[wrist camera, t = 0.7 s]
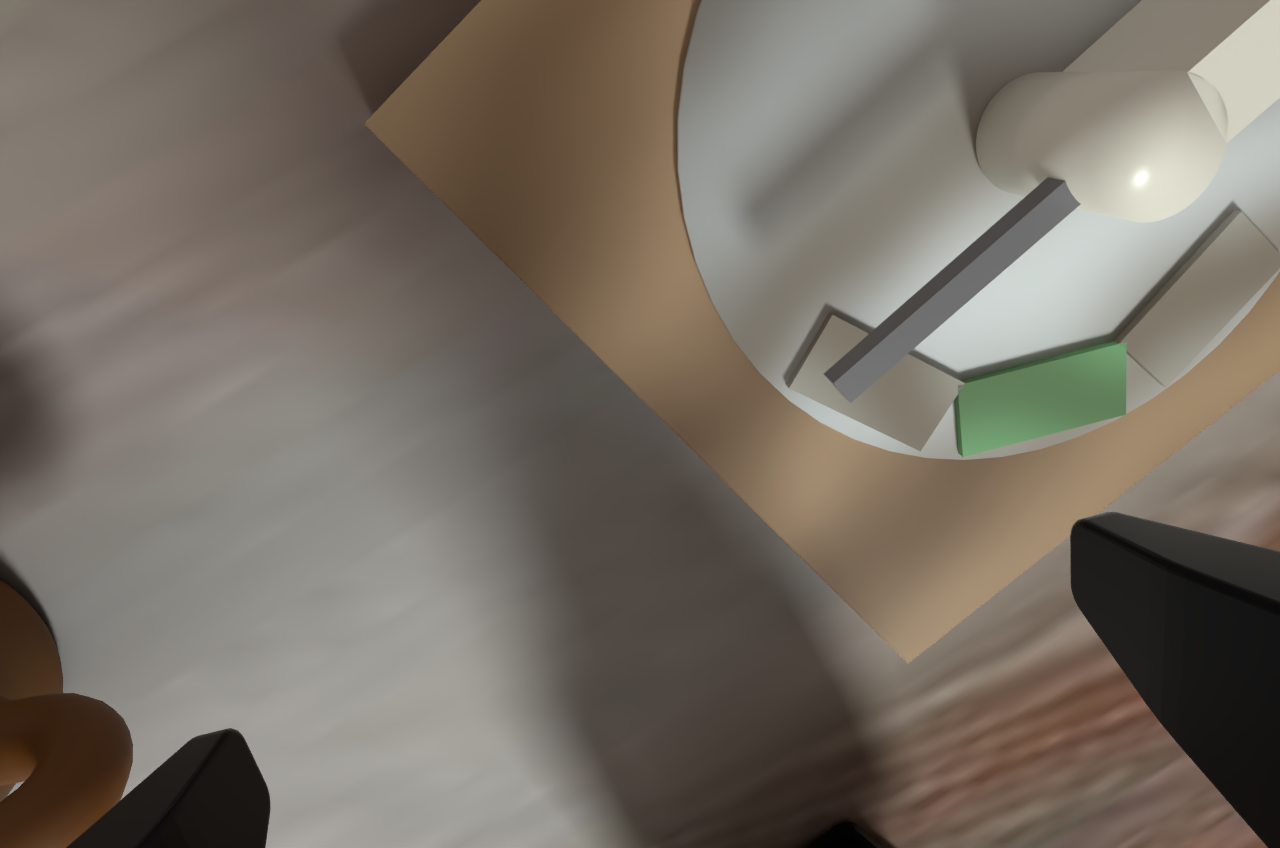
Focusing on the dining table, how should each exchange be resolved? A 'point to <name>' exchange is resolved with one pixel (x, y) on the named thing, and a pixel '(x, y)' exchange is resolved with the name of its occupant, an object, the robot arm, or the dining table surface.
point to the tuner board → (848, 266)
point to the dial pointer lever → (1099, 146)
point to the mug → (51, 740)
